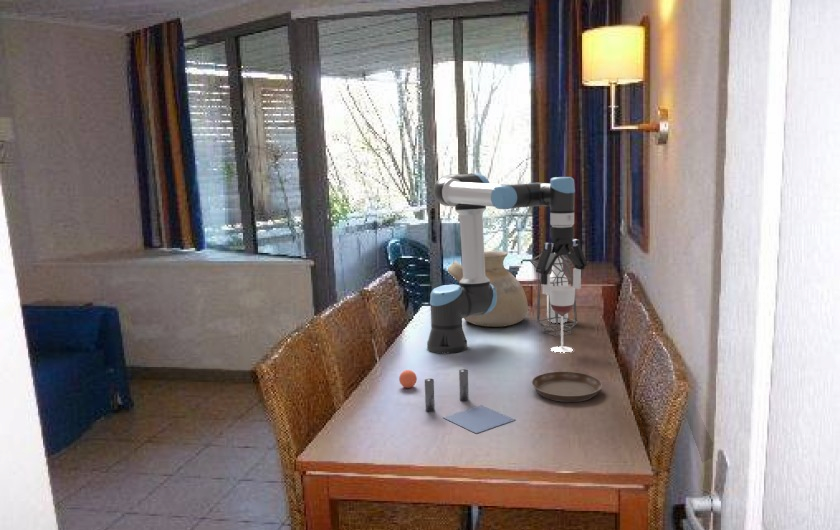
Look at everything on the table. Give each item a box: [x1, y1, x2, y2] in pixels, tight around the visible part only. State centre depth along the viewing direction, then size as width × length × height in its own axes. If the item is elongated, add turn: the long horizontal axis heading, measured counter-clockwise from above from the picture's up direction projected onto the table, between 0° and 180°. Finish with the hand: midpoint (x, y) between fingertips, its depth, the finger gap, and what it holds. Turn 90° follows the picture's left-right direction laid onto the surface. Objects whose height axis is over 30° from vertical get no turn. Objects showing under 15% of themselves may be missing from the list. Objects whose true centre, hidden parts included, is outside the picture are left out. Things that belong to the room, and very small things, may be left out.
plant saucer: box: [531, 371, 603, 403], centre depth 202 cm, size 21×21×3 cm
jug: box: [447, 250, 529, 328], centre depth 288 cm, size 29×34×30 cm
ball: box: [398, 369, 418, 389], centre depth 211 cm, size 6×6×6 cm
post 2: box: [458, 369, 469, 402], centre depth 198 cm, size 3×3×9 cm
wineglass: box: [550, 285, 576, 354], centre depth 244 cm, size 9×10×23 cm
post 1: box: [424, 378, 436, 413], centre depth 191 cm, size 3×3×9 cm
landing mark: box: [443, 404, 516, 435], centre depth 184 cm, size 14×14×1 cm
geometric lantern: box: [530, 249, 578, 337], centre depth 266 cm, size 16×16×35 cm
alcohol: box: [546, 256, 569, 324], centre depth 285 cm, size 9×9×30 cm
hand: (561, 291), depth 216 cm, fingers open, 13 cm apart
